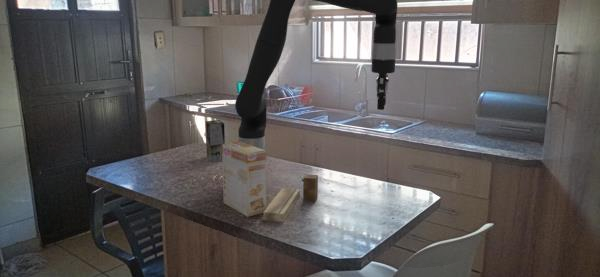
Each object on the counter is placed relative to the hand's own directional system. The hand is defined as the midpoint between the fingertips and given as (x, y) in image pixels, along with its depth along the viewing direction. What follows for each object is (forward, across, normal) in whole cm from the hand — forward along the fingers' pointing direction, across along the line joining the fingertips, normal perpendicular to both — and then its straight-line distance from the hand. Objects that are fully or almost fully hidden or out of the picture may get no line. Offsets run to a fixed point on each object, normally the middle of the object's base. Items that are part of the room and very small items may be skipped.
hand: (381, 107), depth 159 cm
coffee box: (+30, -27, -70) cm, 81 cm away
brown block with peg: (+29, +13, -21) cm, 38 cm away
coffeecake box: (+30, +25, -40) cm, 55 cm away
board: (+29, +22, -28) cm, 46 cm away
